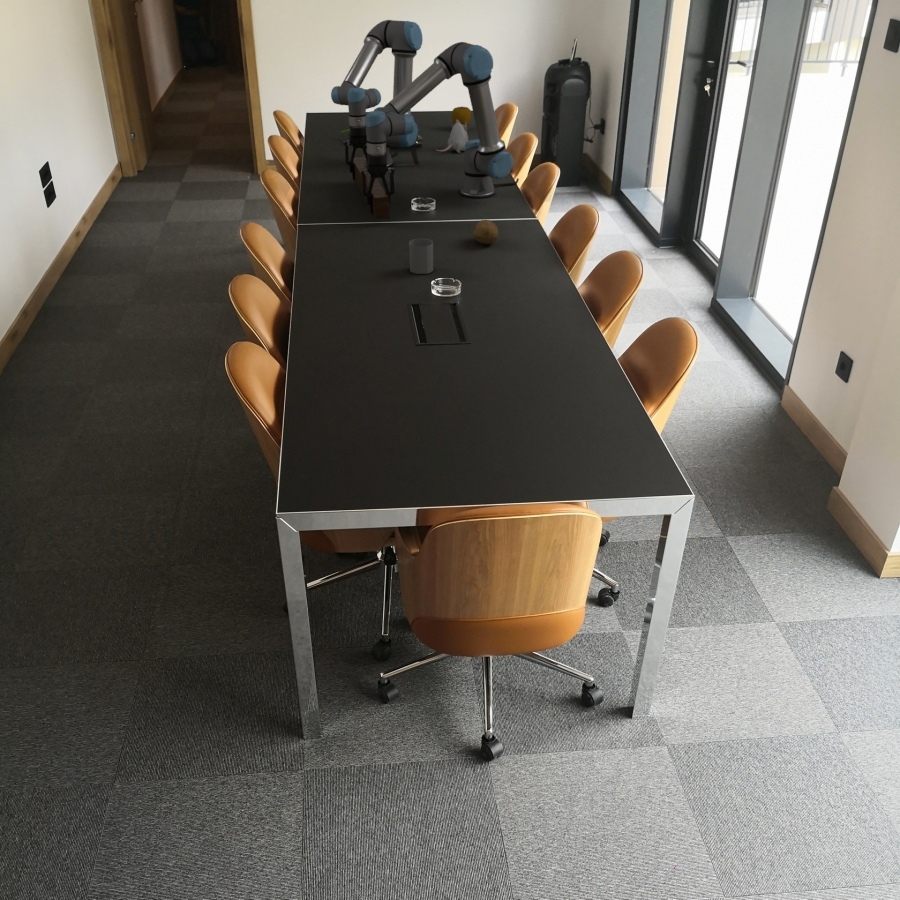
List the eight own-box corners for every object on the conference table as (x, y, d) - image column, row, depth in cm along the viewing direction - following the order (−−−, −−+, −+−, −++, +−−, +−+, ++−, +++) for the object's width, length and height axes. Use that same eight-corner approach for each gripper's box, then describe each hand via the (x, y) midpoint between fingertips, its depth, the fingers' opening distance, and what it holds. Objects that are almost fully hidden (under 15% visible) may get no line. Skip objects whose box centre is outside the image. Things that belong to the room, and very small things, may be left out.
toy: (473, 150, 452) (473, 120, 444) (442, 158, 438) (441, 127, 430) (460, 147, 458) (460, 117, 449) (429, 155, 443) (428, 125, 435)
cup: (409, 265, 311) (408, 238, 306) (432, 265, 312) (431, 238, 307) (410, 274, 304) (409, 246, 299) (433, 273, 305) (433, 246, 299)
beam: (352, 176, 400) (351, 157, 395) (364, 175, 401) (363, 156, 396) (375, 219, 347) (374, 197, 342) (389, 218, 348) (388, 196, 343)
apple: (471, 132, 486) (471, 108, 479) (451, 132, 486) (451, 108, 479) (470, 128, 495) (471, 104, 488) (452, 128, 495) (452, 104, 488)
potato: (495, 236, 338) (496, 216, 334) (500, 248, 327) (500, 227, 322) (471, 236, 338) (471, 216, 334) (474, 249, 326) (474, 228, 322)
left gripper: (338, 128, 377) (341, 182, 389) (380, 126, 380) (382, 180, 393) (335, 125, 383) (339, 178, 395) (377, 123, 386) (379, 175, 399)
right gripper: (354, 157, 336) (357, 216, 348) (401, 154, 339) (403, 213, 352) (352, 152, 342) (355, 210, 354) (398, 150, 345) (399, 207, 358)
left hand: (360, 179), depth 394 cm, fingers closed on beam, 5 cm apart
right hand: (379, 211), depth 353 cm, fingers closed on beam, 5 cm apart
